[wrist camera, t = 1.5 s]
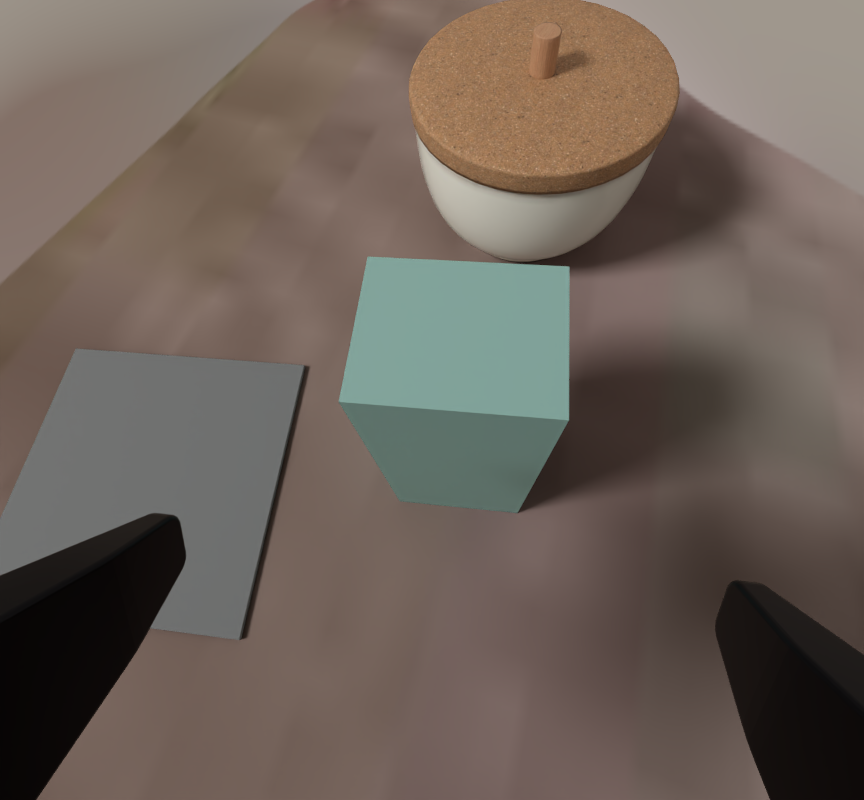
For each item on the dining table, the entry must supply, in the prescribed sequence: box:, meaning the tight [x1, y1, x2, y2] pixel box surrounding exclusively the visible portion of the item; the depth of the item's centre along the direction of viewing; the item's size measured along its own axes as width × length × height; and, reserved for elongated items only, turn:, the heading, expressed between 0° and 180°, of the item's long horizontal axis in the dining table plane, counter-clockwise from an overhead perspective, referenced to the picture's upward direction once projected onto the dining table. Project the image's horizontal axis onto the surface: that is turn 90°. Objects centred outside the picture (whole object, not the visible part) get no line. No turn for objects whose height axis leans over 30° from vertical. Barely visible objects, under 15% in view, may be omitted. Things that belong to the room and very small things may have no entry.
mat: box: [0, 349, 305, 640], centre depth 22 cm, size 12×12×1 cm
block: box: [339, 257, 569, 513], centre depth 16 cm, size 4×5×11 cm
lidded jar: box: [409, 0, 680, 262], centre depth 22 cm, size 11×11×9 cm
